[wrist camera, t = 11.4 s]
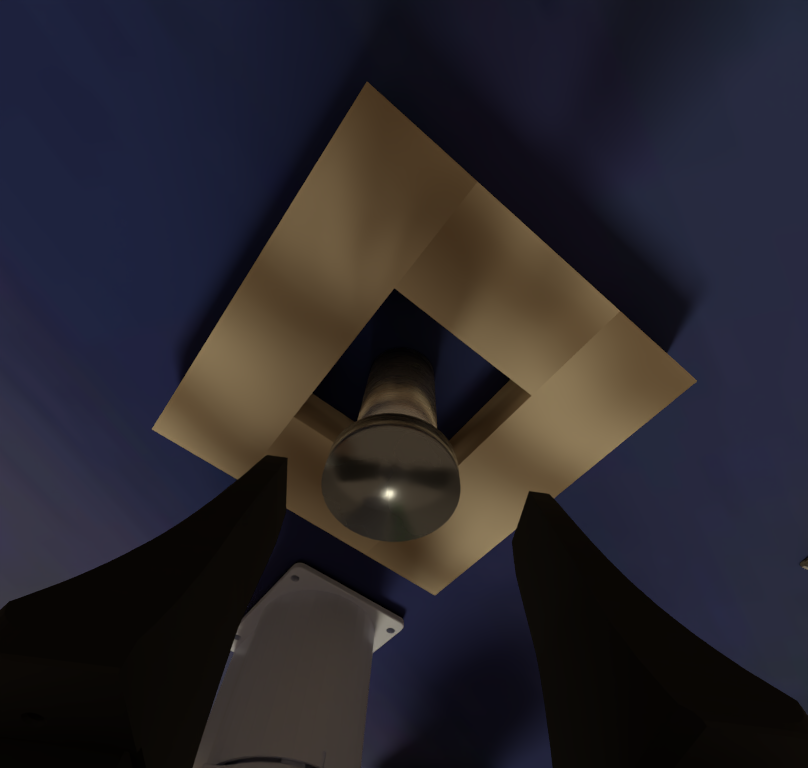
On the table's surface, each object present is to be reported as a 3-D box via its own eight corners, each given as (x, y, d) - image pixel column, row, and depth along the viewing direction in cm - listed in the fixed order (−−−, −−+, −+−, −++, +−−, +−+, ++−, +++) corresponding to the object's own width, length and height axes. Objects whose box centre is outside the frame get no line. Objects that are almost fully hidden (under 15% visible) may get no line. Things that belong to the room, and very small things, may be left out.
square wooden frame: (433, 557, 25) (434, 595, 23) (180, 401, 22) (151, 429, 19) (665, 356, 20) (696, 380, 17) (374, 93, 16) (366, 81, 14)
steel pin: (409, 431, 22) (402, 561, 15) (339, 383, 21) (295, 496, 14) (466, 371, 20) (490, 483, 13) (393, 316, 19) (376, 403, 12)
